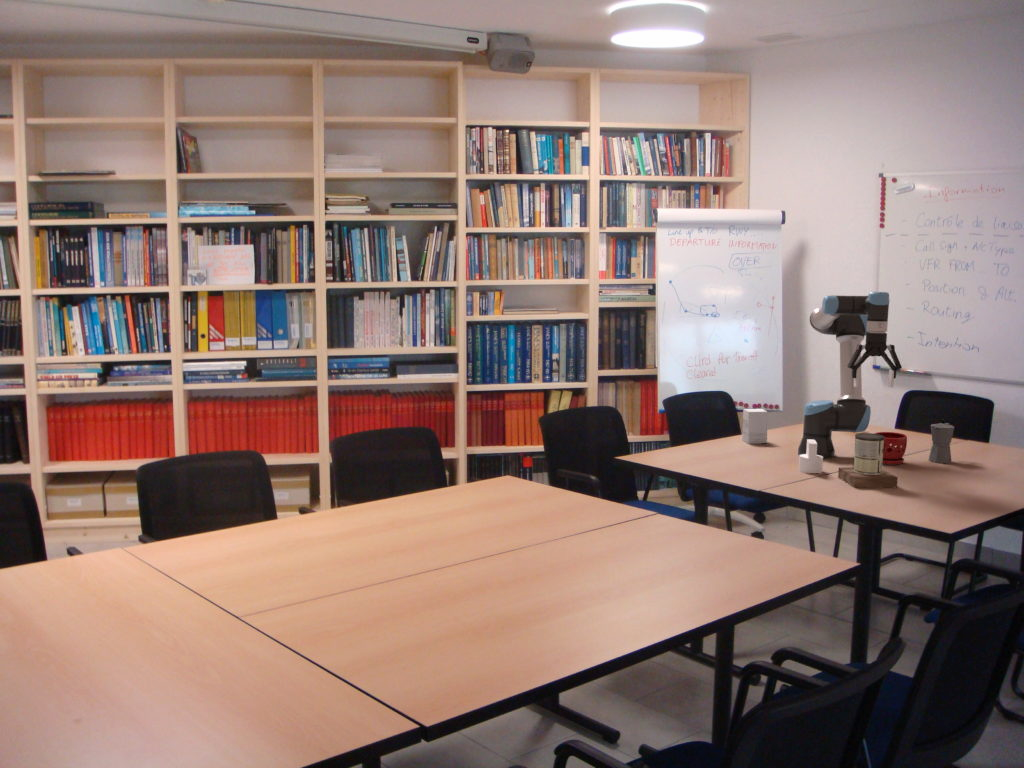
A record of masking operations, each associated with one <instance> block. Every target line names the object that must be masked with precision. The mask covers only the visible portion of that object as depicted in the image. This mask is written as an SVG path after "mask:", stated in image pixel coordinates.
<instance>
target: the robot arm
mask: <svg viewBox="0 0 1024 768" xmlns="http://www.w3.org/2000/svg"><path fill="white" fill-rule="evenodd" d="M821 303H822V304H821V305H822V306H820V307H816V308H815V309H814V310H813V311H812V312H811V313H810V316H809V324H810V326H811V327H812V329H814V330H815V331H816V332H818V333H820V334H824V335H828V336H830V335H831V336H835V340H836V341H837V343H839V369H840V370H839V372H840V376H839V377H840V378H839V380H840V385H839V387H840V389H839V390H840V397H839V398H838V399H837V400H836V403H835V404H834V401H833V400H826V399H825V400H824V399H823V400H822V399H821V400H813V401H810V402H807V403H805V405H804V412H803V429H802V430H803V431H802V438H801V440H800V443H799V444H798V448H797V454H798V455H799V456H800V455H801V454H806V449H807V439H812V440H815V441H816V442H817V455H820V456H823V459H830V458H835V457H836V450H835V446H834V443H833V439H832V433H833V432H838V433H839V432H842V433H843V432H845V433H847V432H848V433H865V432H866V431H867V429H868V427H869V426H870V425H869V423H870V421H871V414H872V413H871V412H872V411H871V405H869V404H867V401H866V399H865V398H864V397H863V394H862V393H863V392H862V391H863V389H862V386H863V385H862V384H863V382H862V366H863V365H862V364H863V363H865V362H866V360H867V359H868V358H870V357H881V358H882V359H883V360H884V362H885V363H886V364H887V365H888V366H889V368H890V369H889V370H888V384H887V386H888V387H889V388H894V379H896V378H897V371H898V370H901V369H902V364H901V361H900V360H899V357H898V354H897V352H896V350H895V349H896V347H895V345H894V344H890V343H889V345H888V344H887V342H888V341H887V339H888V336H887V335H888V333H886V332H888V324H889V323H888V322H889V311H890V309H889V307H890V293H889V292H887V291H870V292H869V293H868V295H835V294H831V295H825V296H824V297H823V299H822V302H821ZM864 340H865V344H862V342H863V341H864ZM864 350H865V351H864ZM886 350H888V351H889V354H890V356H891V358H889V355H888V354H887V353H886ZM862 351H864V353H862ZM891 359H892V360H893V361H892V360H891Z"/></svg>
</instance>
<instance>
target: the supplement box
mask: <svg viewBox="0 0 1024 768" xmlns="http://www.w3.org/2000/svg"><path fill="white" fill-rule="evenodd" d="M768 413H769V412H768V411H767V410H765V409H763V408H743V412H742V434H741V435H742V437H741V440H742V441H743V442H744V443H746V444H747V445H748V444H749V445H753V444H754V445H755V444H756V445H757V444H758V445H760V444H761V443H768V442H767V441H768V423H769V422H768V420H769V419H768V418H769V414H768Z"/></svg>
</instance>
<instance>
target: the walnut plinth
mask: <svg viewBox="0 0 1024 768" xmlns="http://www.w3.org/2000/svg"><path fill="white" fill-rule="evenodd" d="M853 470H854V466H853V467H847V466H846V467H845V466H844V467H838V470H837V471H838V472H837V473H838V474H837V478H838V477H839V478H838V479H839V480H841V479H842V480H841V481H843V482H844V481H845V483H846V484H847V483H848V484H847V485H849V484H850V485H849V486H851V487H852V486H853V487H852V488H854V487H897V488H898V480H899V479H898V476H896V475H894V474H893V473H891V472H889V471H887V470H885V469H883V468H882V474H880V475H864V474H858V473H855V472H854V471H853Z"/></svg>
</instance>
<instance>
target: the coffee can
mask: <svg viewBox="0 0 1024 768" xmlns="http://www.w3.org/2000/svg"><path fill="white" fill-rule="evenodd" d="M854 437H855V438H854V439H855V440H854V441H855V442H854V457H853V467H854V470H853V471H854V472H855V473H858V474H864V475H880V474H882V469H883V464H882V462H883V445H884V436H883V435H879V434H874V433H871V432H869V433H868V432H867V433H866V432H857V433H856V434H854Z"/></svg>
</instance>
